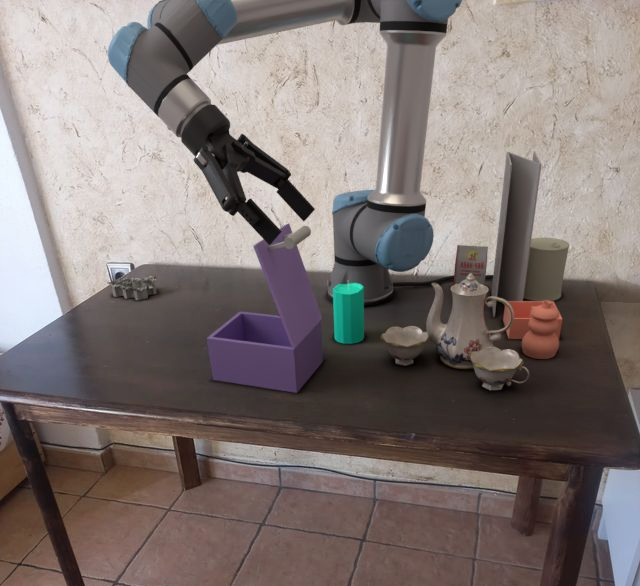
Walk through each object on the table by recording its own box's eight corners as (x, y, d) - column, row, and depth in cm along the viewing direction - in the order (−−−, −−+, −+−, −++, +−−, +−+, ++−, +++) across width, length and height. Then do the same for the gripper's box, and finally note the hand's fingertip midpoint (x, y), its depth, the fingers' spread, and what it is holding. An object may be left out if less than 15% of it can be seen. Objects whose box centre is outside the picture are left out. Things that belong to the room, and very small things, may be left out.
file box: (213, 380, 112) (206, 338, 107) (244, 350, 121) (239, 311, 117) (297, 393, 106) (293, 349, 102) (323, 361, 116) (321, 320, 111)
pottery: (503, 320, 128) (508, 274, 123) (550, 320, 127) (558, 274, 121) (514, 359, 113) (521, 309, 108) (568, 360, 112) (578, 309, 106)
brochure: (520, 318, 129) (541, 164, 112) (493, 317, 130) (510, 164, 113) (516, 293, 140) (535, 151, 124) (491, 292, 141) (506, 151, 125)
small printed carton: (455, 284, 147) (458, 242, 141) (484, 286, 145) (488, 244, 139) (453, 290, 144) (456, 247, 138) (482, 292, 142) (487, 249, 136)
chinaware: (367, 374, 114) (362, 291, 104) (406, 332, 125) (404, 254, 115) (518, 410, 101) (529, 320, 91) (547, 360, 112) (559, 274, 102)
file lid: (252, 245, 94) (282, 236, 92) (286, 224, 104) (313, 215, 102) (291, 347, 102) (320, 342, 99) (319, 318, 111) (346, 313, 109)
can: (539, 305, 134) (548, 250, 127) (509, 292, 141) (516, 240, 134) (570, 295, 137) (579, 242, 131) (539, 284, 144) (546, 232, 138)
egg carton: (161, 292, 152) (158, 276, 150) (140, 302, 147) (137, 286, 144) (129, 286, 156) (126, 270, 154) (107, 296, 151) (104, 280, 149)
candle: (368, 333, 125) (368, 276, 119) (357, 345, 121) (356, 287, 114) (341, 329, 128) (339, 273, 121) (329, 341, 123) (327, 283, 117)
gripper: (222, 128, 106) (308, 221, 109) (137, 154, 87) (244, 266, 90) (246, 93, 101) (335, 191, 105) (162, 112, 82) (274, 231, 85)
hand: (293, 226), depth 97 cm, fingers open, 13 cm apart
